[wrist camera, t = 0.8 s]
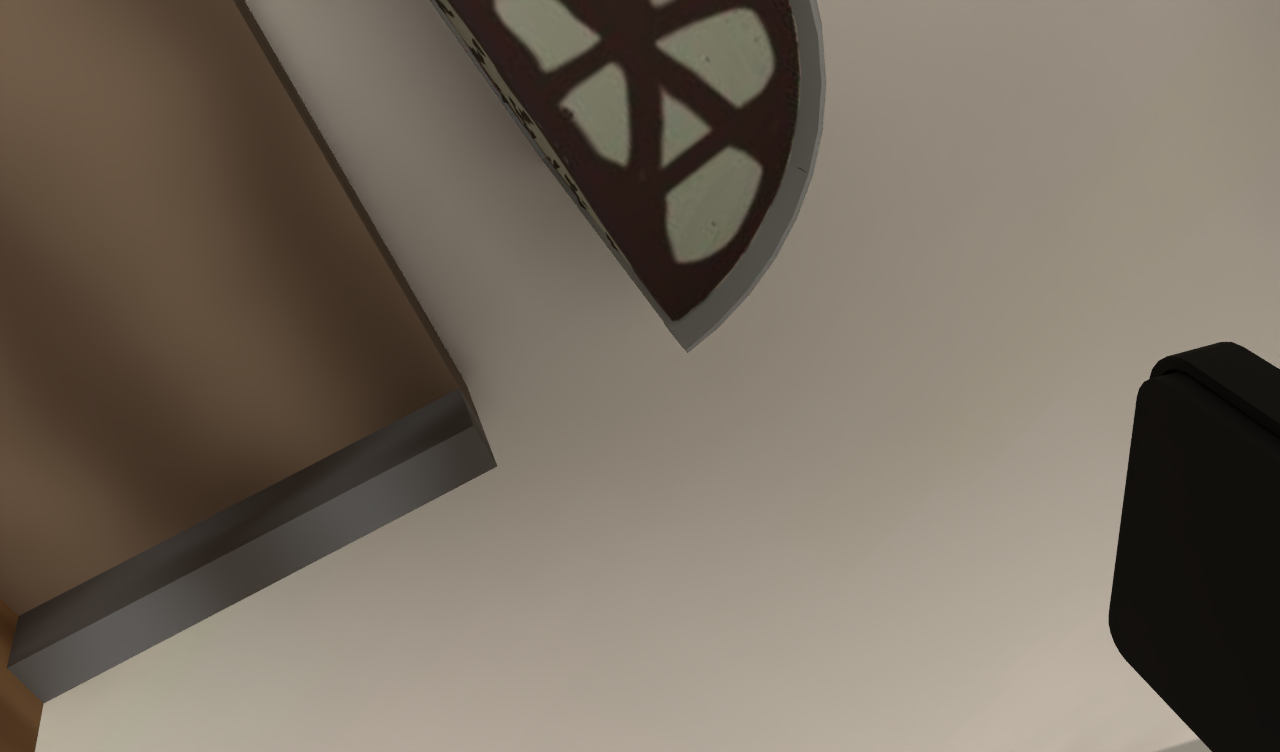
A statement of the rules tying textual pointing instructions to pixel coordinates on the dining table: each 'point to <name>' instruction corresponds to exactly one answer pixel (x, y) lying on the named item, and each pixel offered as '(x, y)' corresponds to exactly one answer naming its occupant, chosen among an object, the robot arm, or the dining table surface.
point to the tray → (187, 341)
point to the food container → (666, 129)
